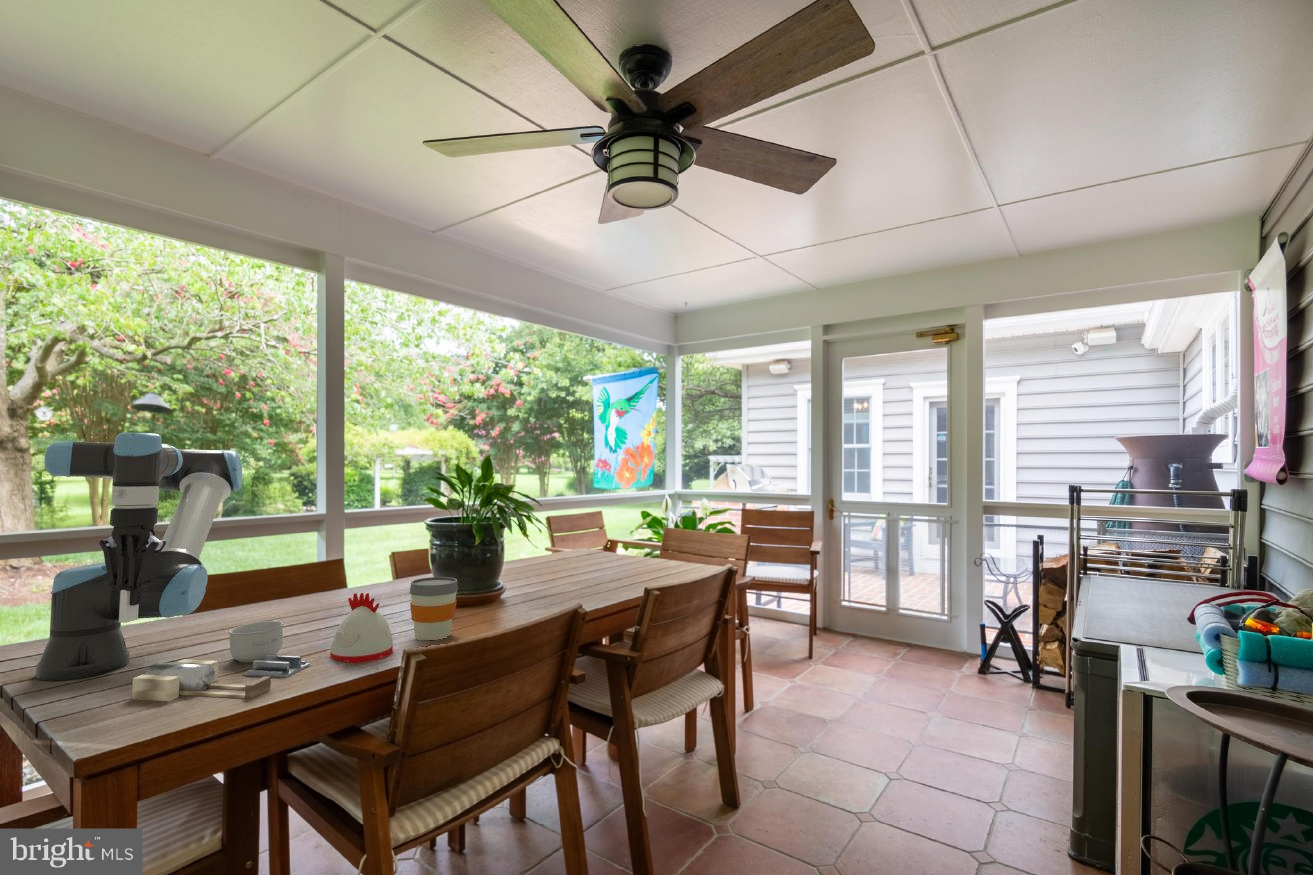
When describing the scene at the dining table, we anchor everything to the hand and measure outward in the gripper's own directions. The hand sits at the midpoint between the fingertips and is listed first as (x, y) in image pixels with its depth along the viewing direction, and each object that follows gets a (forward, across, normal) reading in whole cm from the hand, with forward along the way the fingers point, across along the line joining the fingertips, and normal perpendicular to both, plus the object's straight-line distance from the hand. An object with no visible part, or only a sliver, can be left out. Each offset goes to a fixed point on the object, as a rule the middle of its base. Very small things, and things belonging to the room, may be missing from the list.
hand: (128, 620), depth 125 cm
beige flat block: (+14, +18, 0) cm, 23 cm away
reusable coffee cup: (+14, +44, +45) cm, 65 cm away
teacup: (+14, +12, +22) cm, 29 cm away
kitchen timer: (+14, +34, +28) cm, 47 cm away
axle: (+13, +12, 0) cm, 18 cm away
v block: (+14, +23, +13) cm, 30 cm away
